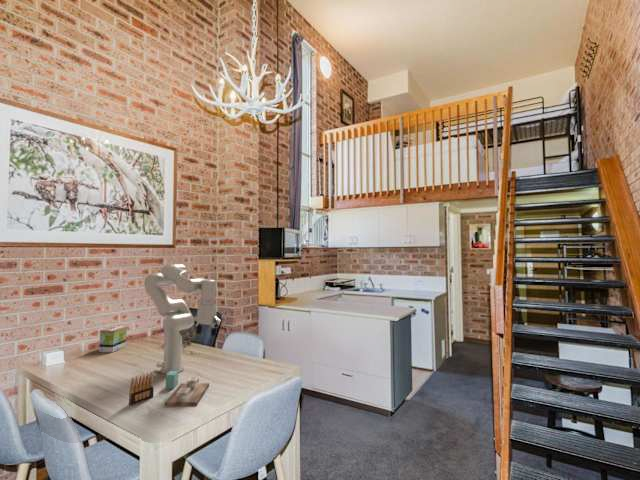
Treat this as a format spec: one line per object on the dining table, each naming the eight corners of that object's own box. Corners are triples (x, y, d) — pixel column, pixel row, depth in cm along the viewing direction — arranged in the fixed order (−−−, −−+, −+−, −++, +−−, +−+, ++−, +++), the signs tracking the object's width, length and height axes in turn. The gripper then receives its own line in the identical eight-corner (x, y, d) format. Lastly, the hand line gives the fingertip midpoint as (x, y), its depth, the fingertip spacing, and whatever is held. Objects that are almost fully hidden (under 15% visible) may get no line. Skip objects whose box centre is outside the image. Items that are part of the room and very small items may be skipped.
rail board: (164, 406, 151) (164, 394, 151) (180, 386, 173) (181, 375, 173) (196, 405, 152) (197, 393, 152) (208, 386, 174) (209, 375, 174)
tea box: (113, 352, 227) (114, 330, 227) (98, 352, 227) (99, 330, 227) (126, 346, 242) (127, 325, 242) (112, 346, 242) (113, 325, 242)
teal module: (165, 389, 169) (165, 375, 169) (169, 384, 175) (170, 370, 175) (173, 389, 169) (174, 374, 170) (177, 384, 175) (178, 370, 176)
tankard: (167, 343, 250) (168, 323, 250) (177, 339, 262) (177, 320, 263) (192, 345, 247) (193, 324, 247) (201, 341, 259) (201, 321, 260)
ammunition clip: (151, 396, 161) (152, 370, 161) (153, 397, 160) (154, 371, 160) (128, 404, 152) (129, 377, 152) (130, 405, 151) (131, 378, 151)
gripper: (189, 302, 183) (188, 334, 183) (216, 304, 177) (215, 337, 177) (199, 300, 190) (198, 331, 190) (225, 303, 184) (223, 334, 184)
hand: (206, 334), depth 183 cm, fingers open, 9 cm apart
